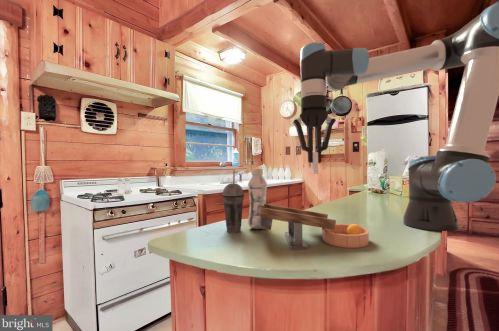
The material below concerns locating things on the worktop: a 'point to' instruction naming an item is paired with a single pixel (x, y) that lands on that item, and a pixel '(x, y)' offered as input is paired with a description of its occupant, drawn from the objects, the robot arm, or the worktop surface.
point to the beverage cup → (233, 205)
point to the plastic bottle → (256, 197)
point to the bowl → (345, 237)
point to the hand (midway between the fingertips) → (314, 173)
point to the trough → (292, 217)
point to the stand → (295, 236)
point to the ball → (354, 229)
